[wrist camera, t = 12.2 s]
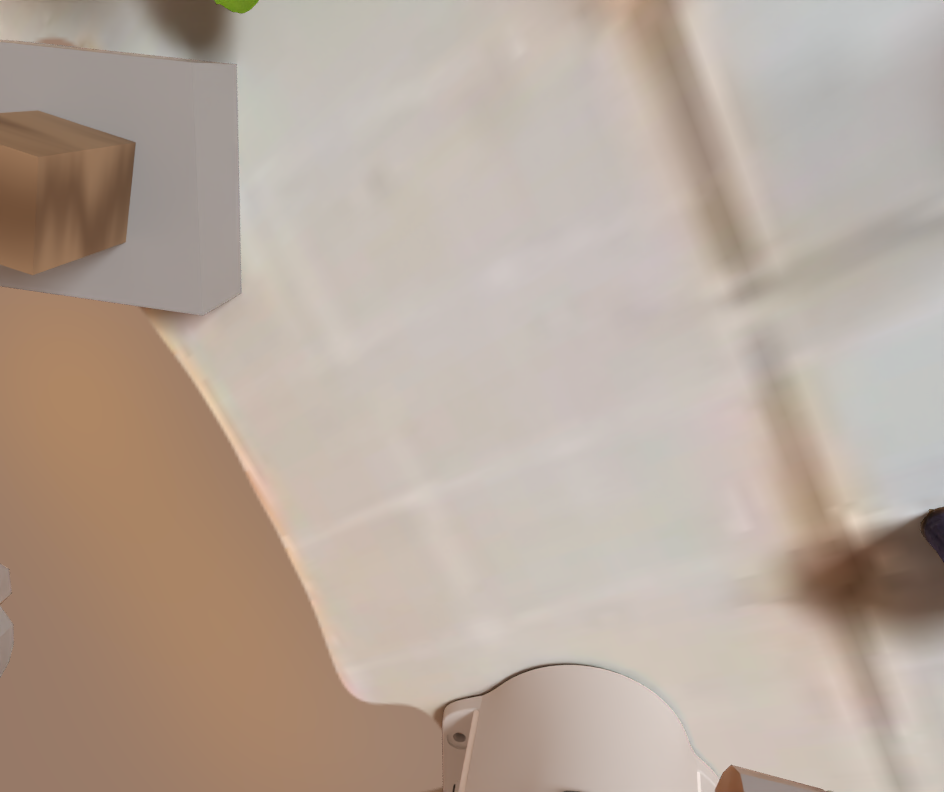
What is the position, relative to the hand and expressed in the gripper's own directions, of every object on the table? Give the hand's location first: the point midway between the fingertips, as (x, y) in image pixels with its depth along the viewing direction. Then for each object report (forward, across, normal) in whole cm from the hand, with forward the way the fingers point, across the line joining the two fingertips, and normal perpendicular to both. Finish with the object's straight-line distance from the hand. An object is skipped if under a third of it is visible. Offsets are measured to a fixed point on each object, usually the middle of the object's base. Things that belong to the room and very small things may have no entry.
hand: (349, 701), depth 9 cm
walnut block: (+30, +23, +3) cm, 37 cm away
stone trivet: (+35, +23, +3) cm, 41 cm away
